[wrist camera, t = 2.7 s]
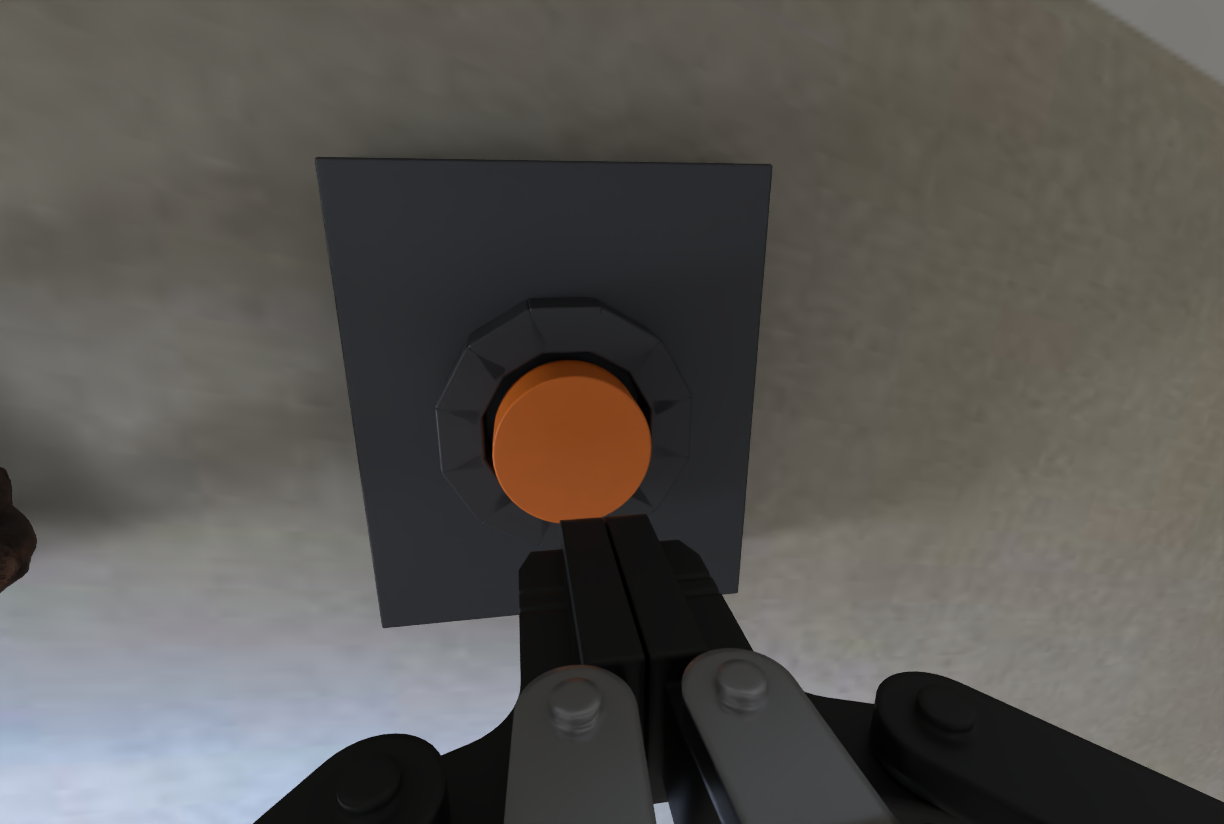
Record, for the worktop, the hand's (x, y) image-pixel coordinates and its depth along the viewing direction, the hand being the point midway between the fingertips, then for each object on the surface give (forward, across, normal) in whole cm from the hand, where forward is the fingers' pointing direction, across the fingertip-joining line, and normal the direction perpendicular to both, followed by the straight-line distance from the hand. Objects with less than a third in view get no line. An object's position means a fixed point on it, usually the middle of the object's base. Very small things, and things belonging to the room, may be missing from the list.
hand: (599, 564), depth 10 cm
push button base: (+11, 0, 0) cm, 11 cm away
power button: (+7, 0, 0) cm, 7 cm away
